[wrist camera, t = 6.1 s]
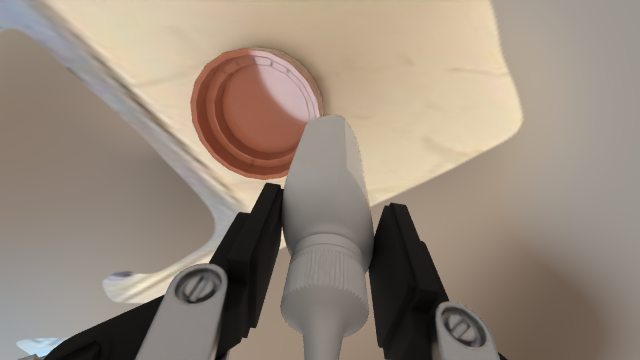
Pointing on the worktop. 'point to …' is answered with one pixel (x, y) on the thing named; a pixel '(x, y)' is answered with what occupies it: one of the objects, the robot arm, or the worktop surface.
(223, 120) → the bowl
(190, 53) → the worktop surface
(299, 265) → the eye dropper bottle
